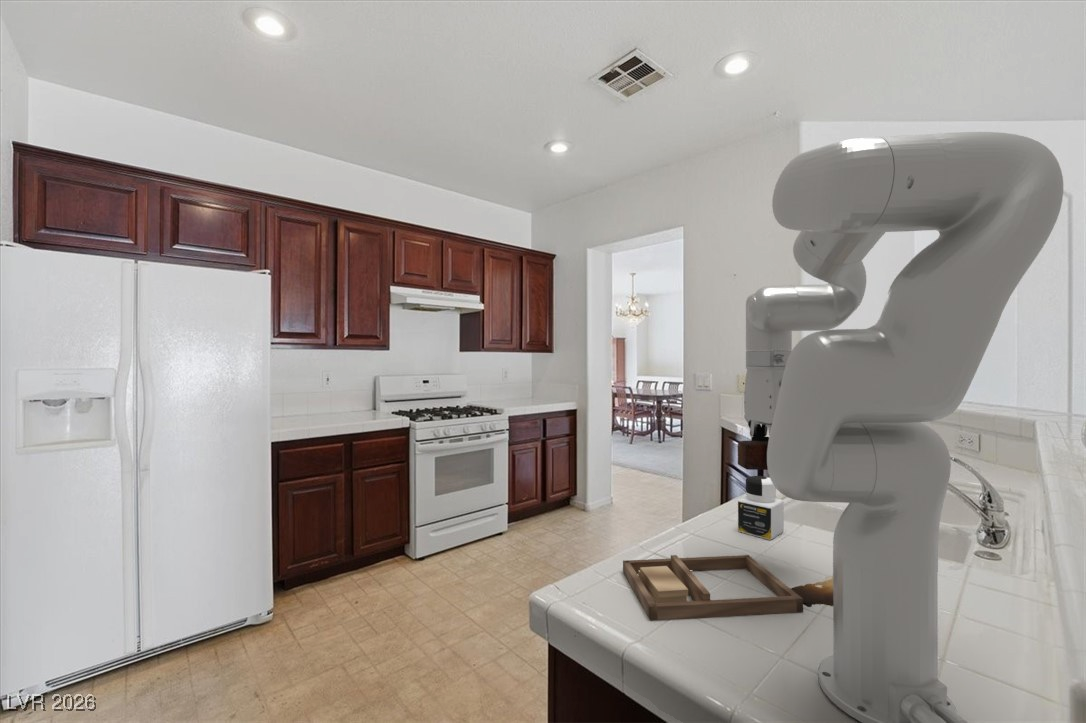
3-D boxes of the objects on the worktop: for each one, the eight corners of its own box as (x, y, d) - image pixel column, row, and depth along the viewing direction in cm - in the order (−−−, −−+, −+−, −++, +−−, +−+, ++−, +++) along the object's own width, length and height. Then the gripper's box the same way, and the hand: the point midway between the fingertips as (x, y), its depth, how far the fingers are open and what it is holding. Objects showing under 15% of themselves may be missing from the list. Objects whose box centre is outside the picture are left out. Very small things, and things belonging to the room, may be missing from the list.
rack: (803, 612, 71) (803, 592, 71) (650, 620, 69) (650, 600, 69) (748, 565, 87) (748, 549, 87) (622, 571, 85) (622, 555, 85)
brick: (746, 470, 84) (746, 444, 84) (737, 465, 88) (737, 440, 88) (806, 470, 84) (806, 443, 84) (794, 464, 88) (794, 439, 88)
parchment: (887, 568, 86) (887, 563, 86) (945, 593, 77) (945, 587, 77) (772, 588, 80) (772, 583, 80) (820, 617, 71) (820, 611, 71)
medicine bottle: (737, 532, 105) (737, 477, 104) (751, 524, 109) (751, 472, 109) (771, 540, 99) (770, 483, 99) (784, 532, 104) (784, 477, 104)
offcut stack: (689, 610, 73) (690, 590, 73) (658, 612, 72) (658, 592, 72) (664, 579, 83) (664, 562, 83) (637, 581, 82) (637, 564, 82)
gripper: (819, 361, 78) (819, 472, 78) (761, 360, 95) (761, 451, 95) (776, 362, 77) (776, 474, 78) (725, 360, 94) (725, 452, 94)
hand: (768, 460), depth 86 cm, fingers closed on brick, 4 cm apart
